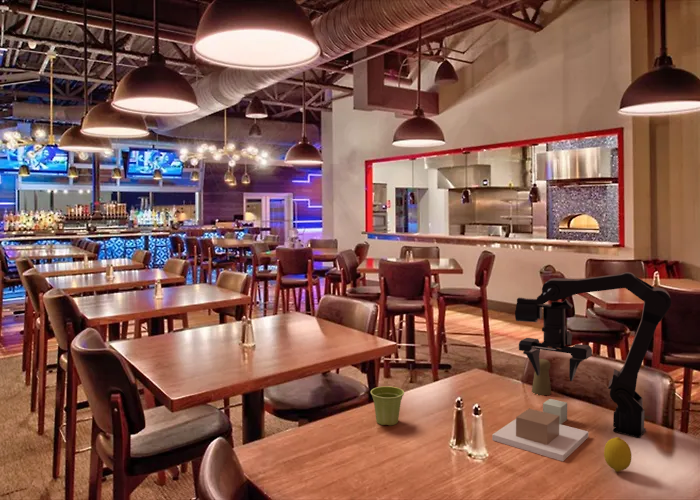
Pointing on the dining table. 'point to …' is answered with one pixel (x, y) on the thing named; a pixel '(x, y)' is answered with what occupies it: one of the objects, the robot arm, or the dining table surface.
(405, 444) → the dining table surface
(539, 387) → the cork
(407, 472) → the dining table surface
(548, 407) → the sage block
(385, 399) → the plant pot
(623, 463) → the lemon
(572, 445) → the build board
